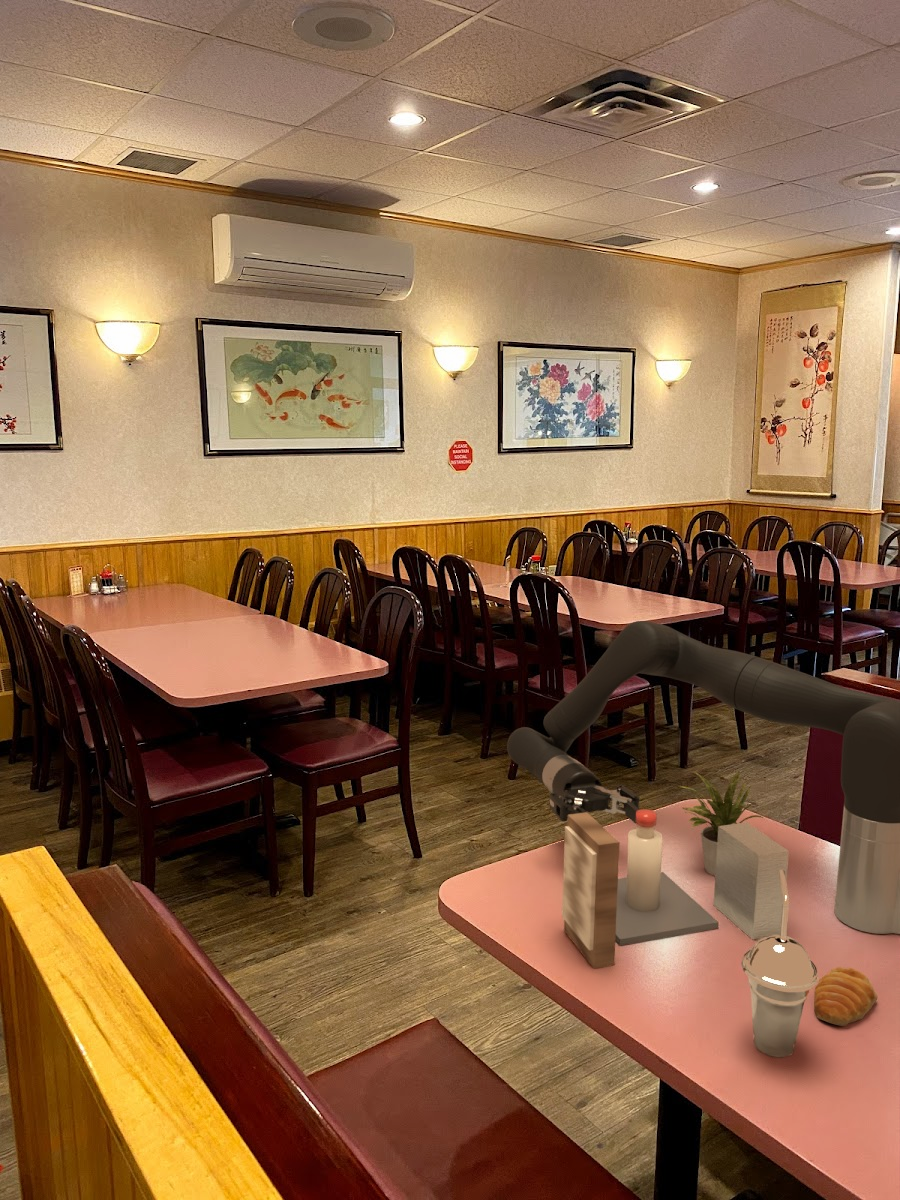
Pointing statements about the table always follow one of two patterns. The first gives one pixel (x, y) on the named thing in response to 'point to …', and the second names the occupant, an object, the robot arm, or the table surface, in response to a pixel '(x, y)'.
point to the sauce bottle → (644, 863)
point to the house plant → (717, 817)
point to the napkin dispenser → (749, 879)
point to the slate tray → (660, 915)
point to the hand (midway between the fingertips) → (614, 820)
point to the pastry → (843, 996)
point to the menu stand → (590, 888)
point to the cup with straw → (778, 986)
